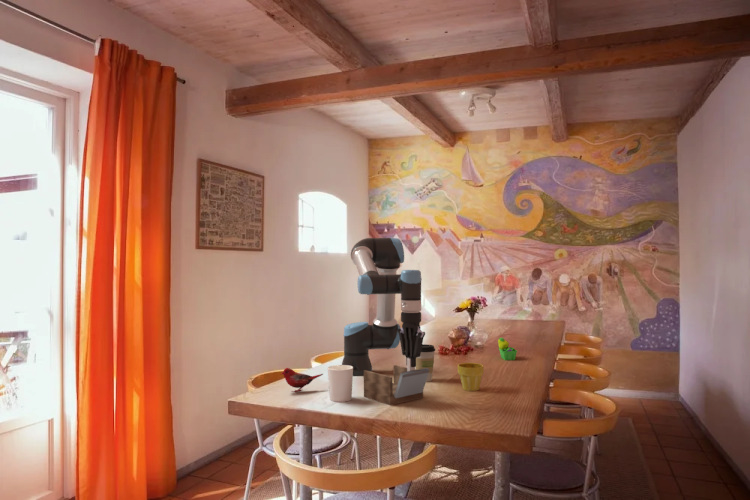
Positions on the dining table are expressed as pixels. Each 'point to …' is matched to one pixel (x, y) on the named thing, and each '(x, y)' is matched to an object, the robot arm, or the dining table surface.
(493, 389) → the dining table surface
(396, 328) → the robot arm
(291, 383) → the decorative bird figurine
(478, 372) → the plant pot
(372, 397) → the small wooden shelf
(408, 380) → the pale grey panel
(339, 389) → the candle holder
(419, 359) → the coffee cup
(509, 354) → the fruit basket
